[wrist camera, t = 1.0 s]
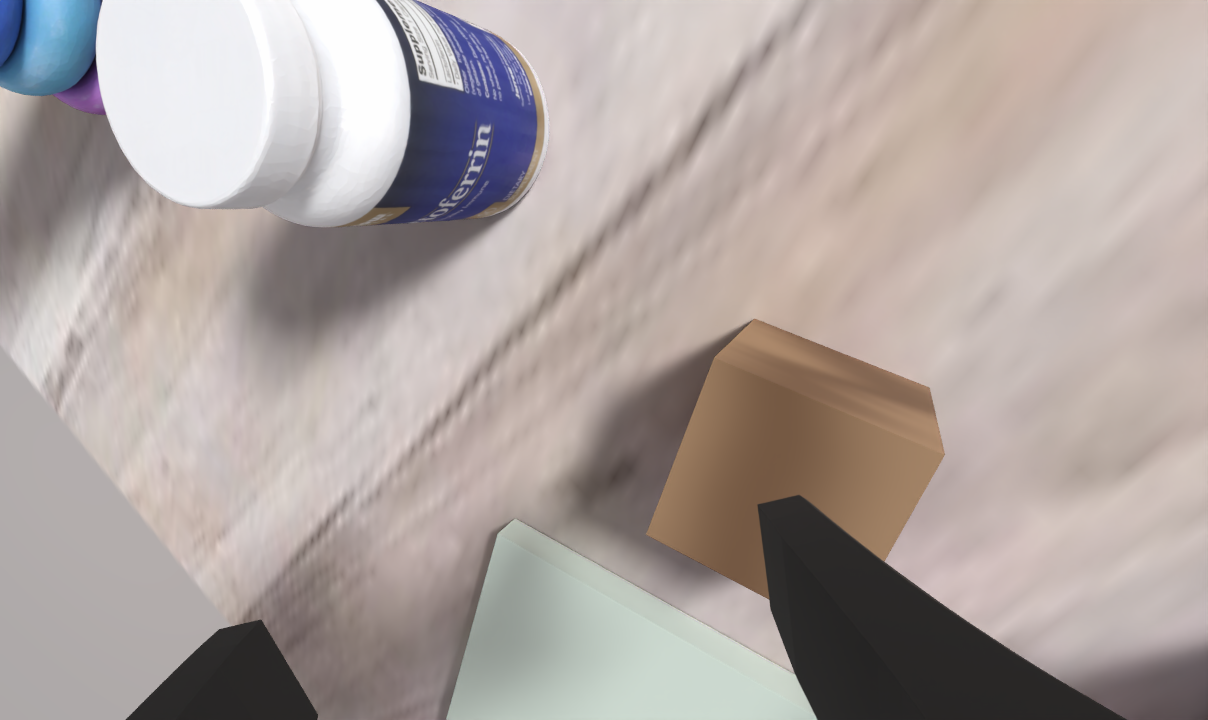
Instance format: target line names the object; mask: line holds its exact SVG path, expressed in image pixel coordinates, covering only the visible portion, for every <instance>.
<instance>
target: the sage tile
mask: <svg viewBox="0 0 1208 720" xmlns="http://www.w3.org/2000/svg"><path fill="white" fill-rule="evenodd" d="M446 720H817V718H816V716H815V714H814V712H813V710H812V708H811V706H810V704H809V702H808V700H807V698H806V696H805V694H804V692H803V690H802V688H801V686H800V684H799V682H798V680H797V677H796V675H795V674H793V673H791V672H789V671H787V670H786V669H784V668H782V667H780V666H778V665H777V664H775V663H773V662H771V661H770V660H768V659H766V658H764V657H762V656H761V655H759V654H757V653H755V652H753V651H752V650H750V649H748V648H746V647H744V646H743V645H741V644H739V643H737V642H736V641H734V640H732V639H730V638H728V637H727V636H725V635H723V634H721V633H719V632H718V631H716V630H714V629H712V628H710V627H709V626H707V625H705V624H703V623H701V622H700V621H698V620H696V619H694V618H693V617H691V616H689V615H687V614H685V613H684V612H682V611H680V610H678V609H676V608H675V607H673V606H671V605H669V604H667V603H666V602H664V601H662V600H660V599H658V598H657V597H655V596H653V595H651V594H650V593H648V592H646V591H644V590H642V589H641V588H639V587H637V586H635V585H633V584H632V583H630V582H628V581H626V580H624V579H623V578H621V577H619V576H617V575H616V574H614V573H612V572H610V571H608V570H607V569H605V568H603V567H601V566H599V565H598V564H596V563H594V562H592V561H590V560H589V559H587V558H585V557H583V556H581V555H580V554H578V553H576V552H574V551H573V550H571V549H569V548H567V547H565V546H564V545H562V544H560V543H558V542H556V541H555V540H553V539H551V538H549V537H547V536H546V535H544V534H542V533H540V532H539V531H537V530H535V529H533V528H531V527H530V526H528V525H526V524H524V523H522V522H521V521H519V520H517V519H514V520H513V521H512V522H510V523H509V524H508V525H507V526H506V527H505V528H504V529H502V530H501V531H500V532H499V533H498V534H497V538H496V541H495V545H494V549H493V552H492V556H491V559H490V563H489V567H488V570H487V574H486V578H485V581H484V585H483V588H482V592H481V596H480V599H479V603H478V606H477V610H476V614H475V617H474V621H473V624H472V628H471V632H470V635H469V639H468V642H467V646H466V650H465V653H464V657H463V660H462V664H461V668H460V671H459V675H458V678H457V682H456V686H455V689H454V693H453V696H452V700H451V704H450V707H449V711H448V714H447V718H446Z"/></svg>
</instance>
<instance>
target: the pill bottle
mask: <svg viewBox="0 0 1208 720" xmlns="http://www.w3.org/2000/svg"><path fill="white" fill-rule="evenodd" d="M96 62H97V72H98V80H99V87H100V93H101V97H102V101H103V105H104V108H105V112H106V115H107V118H108V120H109V123H110V126H111V128H112V131H113V133H114V135H115V137H116V139H117V142H118V144H119V146H120V148H121V150H122V151H123V153H124V155H125V156H126V158H127V159H128V161H129V162H130V164H131V165H132V167H133V168H134V169H135V170H136V172H137V173H138V174H139V175H140V176H141V177H142V178H143V179H144V181H145V182H146V183H147V184H148V185H149V186H151V187H152V188H153V189H154V190H156V191H157V192H158V193H160V194H161V195H162V196H164V197H166V198H168V199H170V200H171V201H173V202H176V203H178V204H181V205H183V206H187V207H192V208H199V209H253V208H258V207H263V208H265V209H266V210H268V211H269V212H271V213H273V214H274V215H276V216H278V217H280V218H283V219H285V220H287V221H290V222H293V223H296V224H300V225H304V226H311V227H349V226H367V225H382V224H399V223H416V222H432V221H450V220H463V219H475V218H483V217H488V216H492V215H495V214H498V213H501V212H503V211H505V210H507V209H508V208H510V207H511V206H513V205H514V204H516V203H517V202H518V201H519V200H520V199H521V198H522V197H523V196H524V195H525V194H526V193H527V191H528V190H529V189H530V188H531V186H532V185H533V183H534V181H535V180H536V178H537V176H538V174H539V172H540V170H541V168H542V165H543V162H544V159H545V156H546V153H547V148H548V141H549V114H548V107H547V102H546V98H545V94H544V91H543V88H542V86H541V83H540V80H539V78H538V76H537V74H536V73H535V71H534V69H533V67H532V66H531V64H530V63H529V62H528V60H527V59H526V58H525V57H524V55H523V54H522V53H521V52H520V51H519V50H518V49H517V48H515V47H514V46H513V45H512V44H511V43H509V42H508V41H506V40H505V39H503V38H502V37H500V36H498V35H496V34H494V33H492V32H490V31H488V30H486V29H484V28H481V27H479V26H477V25H474V24H472V23H470V22H468V21H465V20H463V19H460V18H458V17H455V16H453V15H450V14H448V13H445V12H443V11H441V10H438V9H436V8H433V7H431V6H428V5H426V4H424V3H421V2H419V1H416V0H103V1H102V5H101V9H100V13H99V18H98V24H97V36H96Z"/></svg>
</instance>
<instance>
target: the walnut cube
mask: <svg viewBox="0 0 1208 720" xmlns="http://www.w3.org/2000/svg"><path fill="white" fill-rule="evenodd" d="M944 455H945V453H944V449H943V444H942V440H941V436H940V431H939V427H938V423H937V418H936V414H935V410H934V405H933V401H932V396H931V392H930V388H929V387H926V386H924V385H921V384H919V383H916V382H914V381H911V380H909V379H906V378H904V377H901V376H898V375H896V374H893V373H891V372H888V371H886V370H883V369H881V368H878V367H876V366H873V365H871V364H868V363H866V362H863V361H860V360H858V359H855V358H853V357H850V356H848V355H845V354H843V353H840V352H838V351H835V350H833V349H830V348H828V347H825V346H822V345H820V344H817V343H815V342H812V341H810V340H807V339H805V338H802V337H800V336H797V335H795V334H792V333H790V332H787V331H784V330H782V329H779V328H777V327H774V326H772V325H769V324H767V323H764V322H762V321H759V320H757V319H754V320H753V321H752V322H751V323H750V324H749V325H748V326H746V327H745V328H744V329H743V330H742V331H741V332H740V333H739V334H738V335H737V336H736V337H735V338H734V339H733V340H732V341H731V342H730V343H729V344H728V345H727V346H726V347H725V348H723V349H722V350H721V351H720V352H719V353H718V354H717V355H716V356H715V357H714V359H713V362H712V364H711V367H710V369H709V372H708V375H707V377H706V380H705V382H704V385H703V388H702V390H701V393H700V395H699V398H698V401H697V403H696V406H695V408H694V411H693V414H692V416H691V419H690V421H689V424H688V427H687V429H686V432H685V434H684V437H683V440H682V442H681V445H680V447H679V450H678V453H677V455H676V458H675V460H674V463H673V466H672V468H671V471H670V473H669V476H668V479H667V481H666V484H665V487H664V489H663V492H662V494H661V497H660V500H659V502H658V505H657V507H656V510H655V513H654V515H653V518H652V520H651V523H650V526H649V528H648V531H647V533H646V535H648V536H650V537H651V538H653V539H655V540H657V541H659V542H661V543H663V544H665V545H667V546H669V547H670V548H672V549H674V550H676V551H678V552H680V553H682V554H684V555H686V556H688V557H689V558H691V559H693V560H695V561H697V562H699V563H701V564H703V565H705V566H707V567H708V568H710V569H712V570H714V571H716V572H718V573H720V574H722V575H724V576H726V577H727V578H729V579H731V580H733V581H735V582H737V583H739V584H741V585H743V586H745V587H746V588H748V589H750V590H752V591H754V592H756V593H758V594H760V595H762V596H763V597H765V598H767V599H769V592H768V584H767V576H766V568H765V561H764V553H763V545H762V537H761V529H760V522H759V514H758V506H757V504H761V503H766V502H770V501H774V500H779V499H783V498H787V497H791V496H796V495H800V496H802V497H804V498H805V499H807V500H808V501H809V502H810V503H812V504H813V505H814V506H815V507H816V508H818V509H819V510H820V511H821V512H823V513H824V514H825V515H826V516H827V517H829V518H830V519H831V520H832V521H833V522H835V523H836V524H837V525H838V526H840V527H841V528H842V529H843V530H845V531H846V532H847V533H848V534H849V535H851V536H852V537H853V538H855V539H856V540H857V541H858V542H860V543H861V544H862V545H863V546H865V547H866V548H867V549H869V550H870V551H871V552H872V553H874V554H875V555H876V556H877V557H879V558H880V559H881V560H883V561H885V559H886V558H887V556H888V554H889V552H890V551H891V549H892V547H893V545H894V544H895V542H896V540H897V538H898V536H899V535H900V533H901V531H902V529H903V528H904V526H905V524H906V522H907V521H908V519H909V517H910V515H911V514H912V512H913V510H914V508H915V507H916V505H917V503H918V501H919V499H920V498H921V496H922V494H923V492H924V491H925V489H926V487H927V485H928V484H929V482H930V480H931V478H932V477H933V475H934V473H935V471H936V470H937V468H938V466H939V464H940V462H941V461H942V459H943V457H944Z"/></svg>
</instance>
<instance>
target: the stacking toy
mask: <svg viewBox="0 0 1208 720" xmlns="http://www.w3.org/2000/svg"><path fill="white" fill-rule="evenodd" d="M102 1H103V0H0V86H1V87H3V88H5V89H7V90H10V91H12V92H16V93H20V94H24V95H32V96H45V95H51V94H53V95H54V96H55V97H57V98H58V99H59V100H61V101H62V102H64V103H66V104H68V105H69V106H71V107H73V108H75V109H78V110H81V111H84V112H87V113H92V114H99V115H106V112H105V108H104V105H103V101H102V97H101V93H100V87H99V80H98V72H97V62H96V36H97V24H98V18H99V13H100V9H101V5H102Z"/></svg>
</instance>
